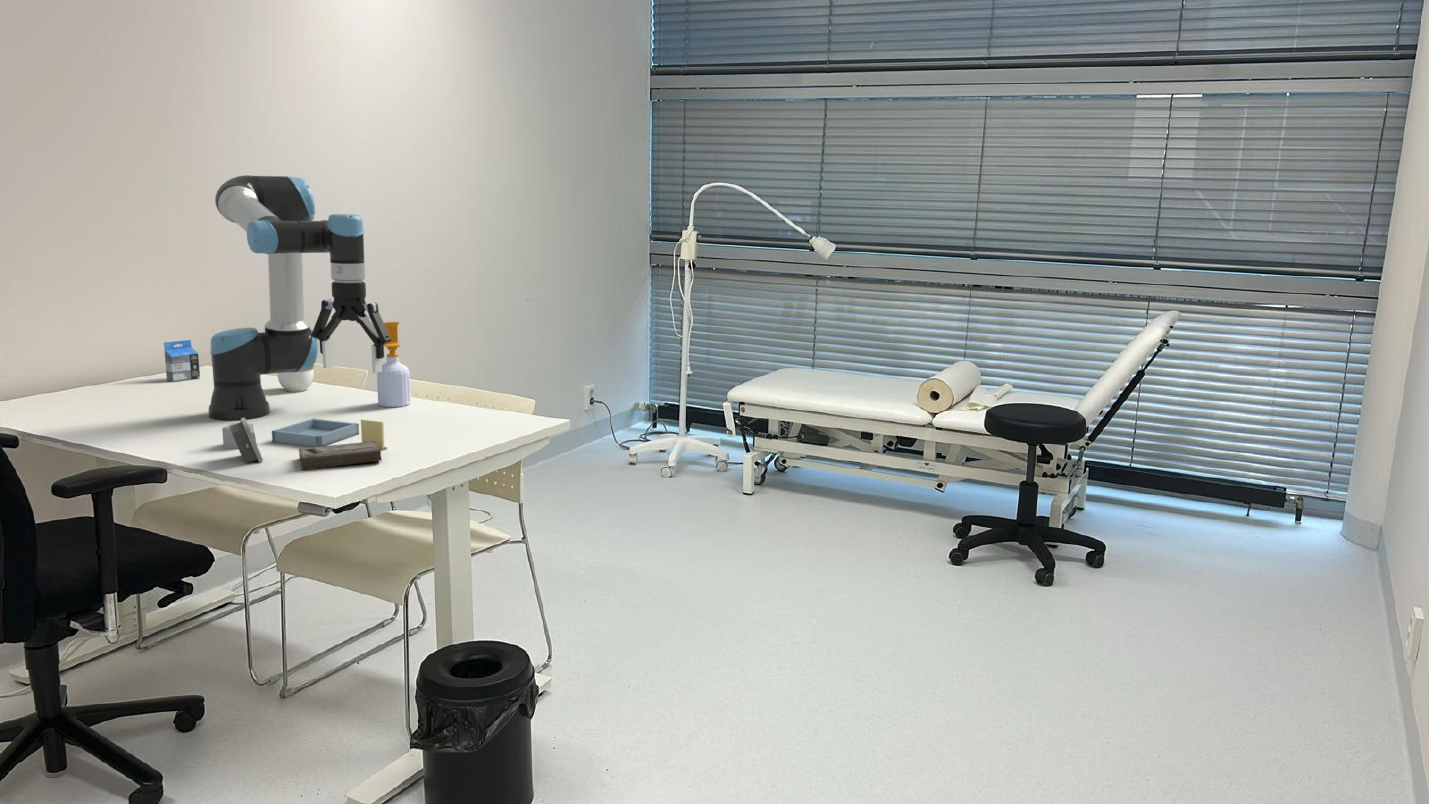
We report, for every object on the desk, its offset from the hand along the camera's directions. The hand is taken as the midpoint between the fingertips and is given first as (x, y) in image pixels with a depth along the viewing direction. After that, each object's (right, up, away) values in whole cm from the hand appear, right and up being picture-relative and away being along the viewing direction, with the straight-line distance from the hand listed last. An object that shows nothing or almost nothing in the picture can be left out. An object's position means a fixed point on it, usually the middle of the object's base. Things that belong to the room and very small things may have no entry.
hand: (352, 369), depth 231 cm
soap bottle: (-7, -9, +53) cm, 54 cm away
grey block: (-29, -18, +4) cm, 35 cm away
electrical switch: (-21, -21, -8) cm, 31 cm away
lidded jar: (-43, -4, +69) cm, 81 cm away
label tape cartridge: (-84, -1, +79) cm, 115 cm away
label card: (+3, -19, +4) cm, 20 cm away
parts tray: (-14, -17, +13) cm, 25 cm away
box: (0, -22, -7) cm, 23 cm away
